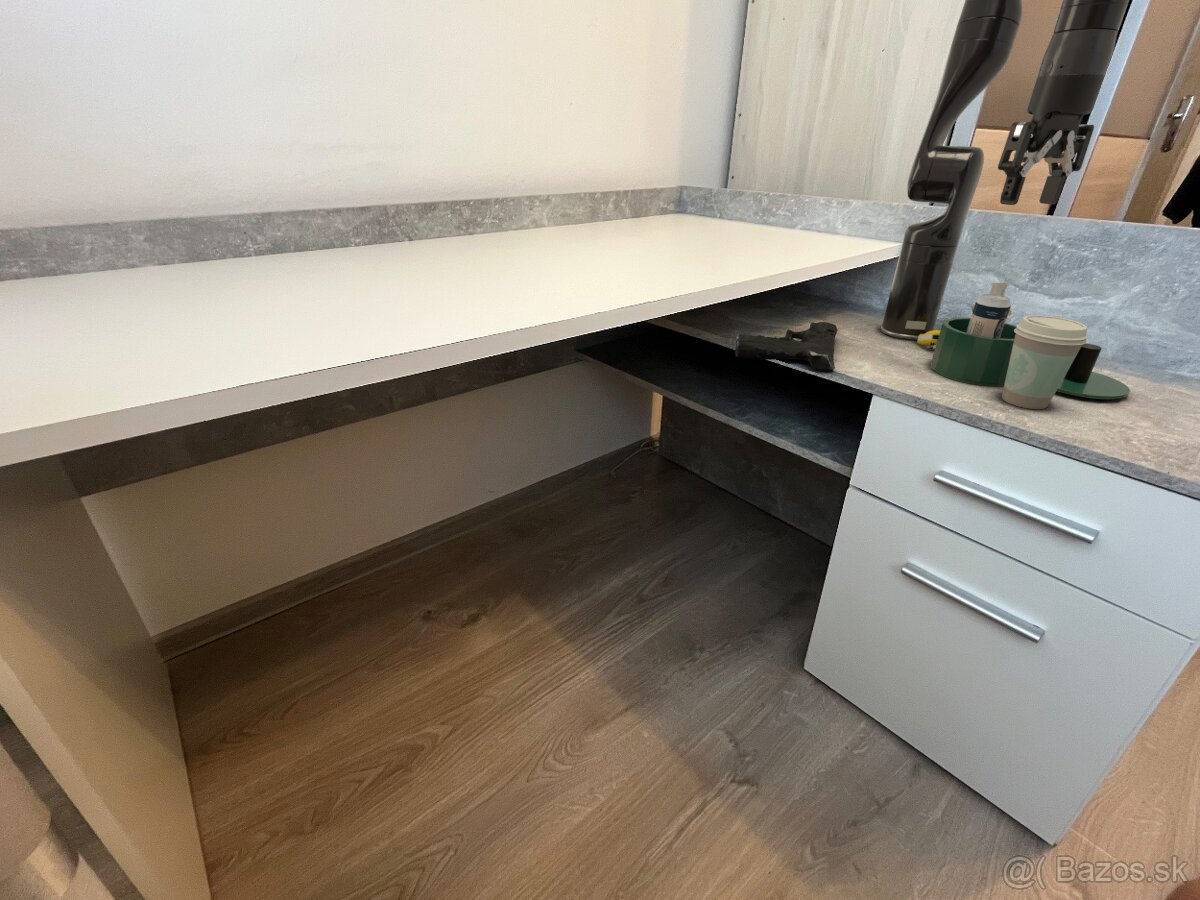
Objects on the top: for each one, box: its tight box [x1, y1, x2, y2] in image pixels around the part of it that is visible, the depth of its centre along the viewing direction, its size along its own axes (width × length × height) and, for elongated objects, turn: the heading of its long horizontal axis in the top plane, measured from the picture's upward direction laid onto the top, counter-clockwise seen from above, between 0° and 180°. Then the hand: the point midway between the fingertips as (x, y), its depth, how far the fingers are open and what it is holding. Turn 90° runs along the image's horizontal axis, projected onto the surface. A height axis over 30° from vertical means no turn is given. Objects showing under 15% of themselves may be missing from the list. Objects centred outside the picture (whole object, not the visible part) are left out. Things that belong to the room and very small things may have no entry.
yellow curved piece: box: [916, 329, 941, 350], centre depth 110 cm, size 10×6×4 cm, turn 71°
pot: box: [930, 317, 1017, 387], centre depth 98 cm, size 13×13×8 cm
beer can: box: [966, 293, 1012, 338], centre depth 97 cm, size 5×5×12 cm
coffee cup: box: [1001, 314, 1088, 410], centre depth 86 cm, size 8×8×12 cm
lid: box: [1056, 342, 1131, 400], centre depth 94 cm, size 14×14×7 cm
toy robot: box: [970, 282, 1014, 320], centre depth 110 cm, size 4×8×12 cm, turn 17°
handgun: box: [734, 321, 838, 370], centre depth 108 cm, size 21×17×4 cm
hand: (1027, 204), depth 88 cm, fingers open, 8 cm apart
